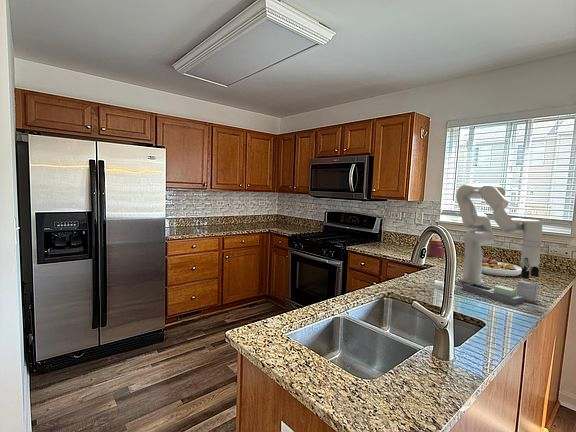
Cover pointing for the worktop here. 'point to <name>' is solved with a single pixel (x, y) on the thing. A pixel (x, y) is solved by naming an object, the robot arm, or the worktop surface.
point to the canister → (435, 248)
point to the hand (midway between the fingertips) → (529, 277)
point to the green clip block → (505, 291)
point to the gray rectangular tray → (492, 293)
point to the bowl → (499, 268)
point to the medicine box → (527, 290)
